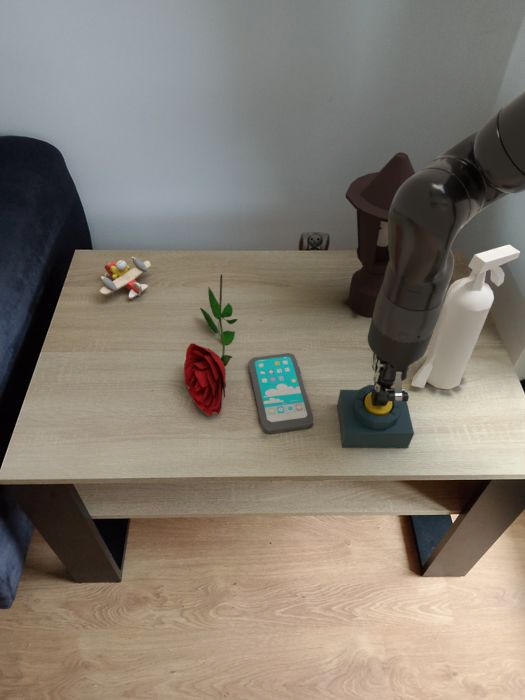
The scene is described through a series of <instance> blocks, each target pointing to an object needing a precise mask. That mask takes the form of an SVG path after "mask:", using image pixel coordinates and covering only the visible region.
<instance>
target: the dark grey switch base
mask: <svg viewBox="0 0 525 700" xmlns="http://www.w3.org/2000/svg"><path fill="white" fill-rule="evenodd" d="M373 387H374V384H367V385H365V386H363V387H361V388H360V389H340V390H339V394H338V399H337V403H336V407H337V413H338V414H337V415H338V422H339V423H338V424H339V431H340V439H341V447H342V448H347V449H348V448H349V449H350V448H352V449H353V448H367V449H369V448H372V449H373V448H377V449H379V448H380V449H381V448H383V449H384V448H385V449H394V448H395V449H408V448H409V447H410V445H411V442H412V440H413V437H414V435H415V431H414V427H413V423H412V419H411V414H410V410H409V405H408V401H407V402H406V401H392V408H391V411H390V414H388V415H386V416H376V415H374V414H371V413H369V412H368V411H367V410H366V409H365V408H364V401H365V398H366V396H367V395H368V394H369V393H371V392H372V390H373Z"/></svg>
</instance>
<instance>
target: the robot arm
mask: <svg viewBox="0 0 525 700" xmlns="http://www.w3.org/2000/svg"><path fill="white" fill-rule="evenodd" d="M524 192H525V90H524V91H523V92H521V93H520V94H519V95H518V96H516V97H515V98H513V99H512V100H511V101H510V102H508V103H507V104H505V105H504V106H503V107H502V108H500V109H499V110H498V111H497V112H495V113H494V114H493V115H492V116H491V117H490V118H488V119H487V120H486V121H485V122H484V123H483V124H482V126H481V127H480V128H478V129H476V130H475V131H474V132H472V133H470V134H469V135H467V136H466V137H464V138H463V139H461V140H459V141H458V142H457V143H455V144H454V145H452V146H450V147H449V148H447V149H446V150H445V151H443V152H442V153H440V154H439V155H437V156H436V157H435V158H434V159H433V158H432V160H430V161H429V162H428V163H427V164H426V165H424V166H423V167H421V168H420V169H418V171H415V174H413V175H412V176H411V177H409V178H408V179H407V180H406V181H405V182H404V183H403V184H402V185H401V186H400V187H399V189H398V190H397V192H396V194H395V196H394V198H393V201H392V204H391V207H390V210H389V215H388V249H389V257H390V258H389V261H388V264H387V268H386V272H385V276H384V280H383V284H382V287H381V289H380V291H379V294H378V296H377V300H376V304H375V308H374V312H373V316H372V317H371V321H370V324H369V329H368V333H367V344H368V347H369V348H370V350H371V351H372V365H371V368H372V371H373V372H374V373H373V377H372V380H373V383H374V384H373V385H374V387H373V390H372V394H371V400H372V405H373V406H386V405H387V403H388V401H406V402H407V403H408V401H409V398H410V396H409V393H408V391H406V388H404V387H403V382H404V381H405V380H406V379H407V377H408V372H409V370H410V368H411V365H413V364H414V363H416V362H418V361H419V360H420V359H422V358H423V357H424V356H425V354H426V352H427V350H428V347H429V344H430V343H431V339H432V338H433V335H434V332H435V329H436V326H437V323H438V320H439V316H440V313H441V310H442V307H443V302H444V299H445V297H446V294H447V291H448V289H449V285H450V283H451V279H452V277H453V275H454V274H453V273H454V270H455V256H454V254H453V251H452V249H451V247H452V245H453V243H454V241H455V239H456V237H457V235H458V233H459V232H460V231H461V230H463V228H464V227H465V226H466V225H467V224H468V223H469V222H470V221H472V220H473V219H474V218H475V217H476V216H477V215H479V213H481V212H482V211H484V210H485V209H486V208H488V207H490V206H491V205H493V204H494V203H496V202H497V201H499V200H500V199H501V200H502V199H503V198H505V197H506V196H508V195H509V194H520V193H524Z"/></svg>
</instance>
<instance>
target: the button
mask: <svg viewBox="0 0 525 700" xmlns="http://www.w3.org/2000/svg"><path fill="white" fill-rule="evenodd" d="M371 394H372V392H371V393H369V394H368V395H367V396H366V398H365V401H364V408H365V409H366V410H367V411H368V412H369V413H371V414H374V415H376V416H386V415H388V414H390V411H391V408H392V401H388V403H387V405H386V406H373V405H372V400H371Z"/></svg>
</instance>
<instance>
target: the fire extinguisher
mask: <svg viewBox="0 0 525 700" xmlns="http://www.w3.org/2000/svg"><path fill="white" fill-rule="evenodd" d="M520 254H521V251H520V250H518V248H515V247H514V246H513V245H511V244H506V245H503V246H498V247H495V248H492V249H489V250H485V251H482V252H478V253H475V254H474V255H472V256H473V257H472V258H471V260H470V262H469V264H468V265H467V266H468V268H470V269H471V271H470V274H469V275H468V276H467V277H466V276H465V277H462V278H459V279H457V280H454V282H453V283H451V284H450V286H449V287H448V289H447V291H446V293H445V296H444V299H443V303H442V307H441V312H440V315H439V318H438V321H437V323H436V326H435V329H434V332H433V335H432V338H431V339H432V340H431V341H430V346H429V350H428V351H427V355H426V358H425V362H424V363H423V364H422V365H421V366H420V368H419V369H418V370H417V372H416V373H415V374H414V375H413V377H412V379H411V380H412V381H411V386H412V387H416V388H420V389H424V388H425V386H426V383H428V384H429V385H431V386H433V387H434V388H435V389H440V390H441V389H442V390H446V391H447V390H448V391H450V390H452V389H454V388H457V387H459V386H460V384H461V382H462V379H463V376H464V375H465V371H466V369H467V367H468V364H469V362H470V359H471V356H472V354H473V352H474V350H475V347H476V344H477V342H478V339H479V337H480V336H481V335H480V334H481V333H482V330H483V327H484V325H485V322H486V319H487V318H488V315H489V313H490V310H491V308H492V305H493V302H494V300H495V296H494V291H493V289H492V288H491V287H490V285H489V283H487V282H485V281H486V274H487V272H488V271H490V281H491V282H492V283H493V284H494V285H495V286H496V287H500V286H501V285H503V283H504V282H505V275H506V274H505V272H504V269H503V268H502V267H500V266H502V265H504V264H506V263H509V262H511V261H514V260H516V259H518V258H519V256H520Z"/></svg>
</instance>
